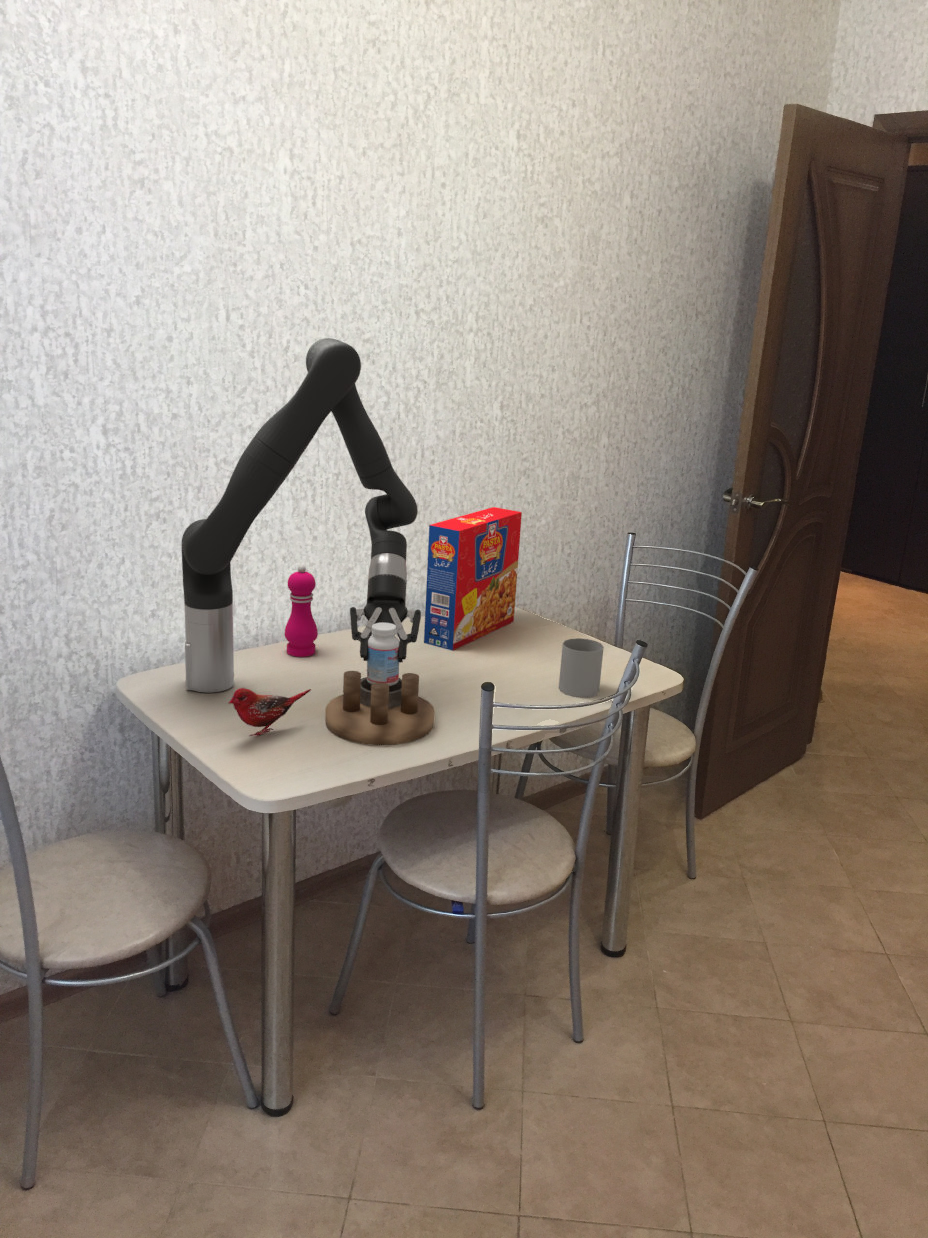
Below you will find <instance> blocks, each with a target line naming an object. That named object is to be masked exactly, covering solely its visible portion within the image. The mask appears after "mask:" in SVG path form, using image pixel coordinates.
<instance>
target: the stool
mask: <svg viewBox="0 0 928 1238" xmlns="http://www.w3.org/2000/svg"><path fill="white" fill-rule="evenodd" d="M342 683H343V690H342V692H343V693H342V694H339V695H338V696H336V697H334V698H332V699H331V700H330V701H329V702H328V703H327V704H326V706H325V716H324V717H325V720H324V721H325V727H326V728H327V730H328V731H329V732H330V733H332V734H333V735H334V736H336V737H338V738H341V739H343V740H345V741H349V742H352V743H356V744H361V745H362V744H363V745H370V746H396V745H403V744H408V743H413V742H415V741H419V740H420V739H422V738H425V737H426V736H428V735H430V733H431V732H432V731H433V729H434V727H435V713H436V712H435V708H434V706H433V705H432V703H430V702H429V701H428V700H426V699H425V698H423V697H422V696H420V695H419V691H420V690H419V689H420V688H419V687H420V675H419V674H417V673H413V672H407V673H403V674H402V676H401V678H400V677H399V680H398V682H397V683H396V684H395V685H392V686H389V685H388V684H386V683H374V684H370V683H369V682H368V681H367V676H366V677H362V673H361V672H359V671H357V670H347V671H344V673H343V682H342Z"/></svg>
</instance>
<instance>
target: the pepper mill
mask: <svg viewBox="0 0 928 1238" xmlns="http://www.w3.org/2000/svg"><path fill="white" fill-rule="evenodd" d="M306 570H307V568H306V566H305V565H304V564H300V565H298V566H297V571H295V572H293V573H291V574H290V575H289V576H288V578H287V588H288V590H289V591H290V593H289V596H290V597H289V600H290V601H291V611H290V614H289V618H288V620H287V622H286V625H285V628H284V638H285V639H286V641H287V642H288V643H287V644H286V654H288V655H289V656H292V657H296V658H297V657H299V658H305V657H310V656H313V655H315V653H316V643H314V642H315V641H316V640H317V639H318V635H319V633H318V632H319V631H318V627H317V626H318V625H317V624H316V622H315V620H314V616H313V612H312V601H313V600H314V597H313V596H314V594H313V592H314V590H315V589H316V585H317V584H316V579H315V577H314V576H313V574H312V573H310V572H308V571H306Z"/></svg>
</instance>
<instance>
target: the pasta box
mask: <svg viewBox="0 0 928 1238" xmlns="http://www.w3.org/2000/svg"><path fill="white" fill-rule="evenodd" d="M522 516H523V512H522V511H519V510H512V509H508V508H501V507H495V506H492V507H489V508H485V509H481V510H477V511H474V512H470V513H467V514H463V515H460V516H457V517H453V518H450V519H445V520H442V521H439V522H435V523H431V524H429V526H428V527H429V528H428V542H427V543H428V547H427V548H428V549H427V563H426V565H427V570H426V590H425V608H424V609H425V611H424V612H425V613H424V630H423V635H424V636H423V643H424V644H427V645H430V646H433V647H434V646H435V647H437V648H442V649H445V650H448V651H453V652H454V651H455V650H458V649H460V648H461V647H464V646H465V645H468V644H470V643H472V642H474V641H476V640H479V639H481V638H483V637H485V636H487V635H489V634H491V633H493V632H495V631H497V630H500V629H502V628H503V627H506V626H508V625H511V624H512V623H514V622H515V621H514V620H515V609H516V597H517V581H518V571H519V570H518V569H519V554H520V543H521V542H520V541H521V529H522Z"/></svg>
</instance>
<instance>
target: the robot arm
mask: <svg viewBox="0 0 928 1238" xmlns="http://www.w3.org/2000/svg"><path fill="white" fill-rule="evenodd" d="M361 361H362V360H361V357H360V355H359V352H357V349H355V348H354V347H353V346H352V345H350V344H348V343H346V342H343V341H341V340H339V339H335V338H329V337H327V338H326V337H325V338H321V339H318V340H316V341H315V342H313V344H311V345H310V347H309V348H308V350H307V353H306V356H305V367H306V370H307V374H306V375H305V377H304V379H303V381H302V382H301V384H300V385H299V387H298V389H297V391H296V392H295V393H294V395H293V396H292V397H291V398H290V399H289V400H288V401H287V403H285V404H284V406H282V407H281V408H280V409H278V411H276V412H275V413H274V414H273V415H271V417H270V418H269V419H268V420H267V421H266V422H265V423H264V424H263V425H262V426H261V427H260V428H259V429H258V430H257V432H256V433H255V434H254V436H253V437H252V439H251V441H250V442H249V443H248V444H247V446H246V447H245V449H244V451H243V452H242V454H241V456H240V457H239V459H238V461H237V463H236V465H235V466H234V470H233V472H232V474H231V476H230V479H229V481H228V483H227V486H226V489H225V491H224V492H223V495H222V497H221V498H220V500H219V502H218V503H217V504H216V506H215V507H214V509H213V510H212V511H211V513H210V514H209V515H208V516H207V517H206V518H202V519H198V520H195V521H193V522H192V523H190V524H189V525H188V526H187V527H186V529H185V531H184V532H183V533H182V534H183V535H182V537H181V567H182V568H181V569H182V586H183V587H182V588H183V603H184V632H185V633H184V634H185V642H184V660H185V663H184V664H185V665H184V667H185V690H186V691H194V692H198V693H207V694H208V693H219V692H223V691H227V690H229V689H231V688H233V687H234V684H235V661H234V660H235V658H234V657H235V655H234V649H235V648H234V605H233V604H234V599H233V598H234V595H233V594H234V592H233V584H232V583H233V582H232V573H231V572H232V571H231V569H232V568H231V562H232V560H233V558H234V556H235V555H236V552H237V550H238V549H239V547H240V545H241V543H242V541H243V540H244V538H245V536H246V534H247V532H248V531H249V529H250V527H251V525H252V524H253V522H254V521H255V520H256V518H257V517H258V516H259V515H260V513H261V512H262V510H263V509H264V508H265V507H266V506H267V504H268V503H269V502H270V501H271V499H272V497H273V496H274V495H275V494H276V492H277V491H278V490H279V488H280V487H281V485H283V483H284V482H285V481H286V479H287V477H288V476H289V475H290V473H291V472H292V470H293V469H294V467H296V464H297V463H298V462H299V460H300V458H301V457H302V455H303V453H304V452H305V451H306V449H307V448H308V446H309V444H310V443H311V442H312V441H313V439H314V437H315V435H316V433H317V432H318V431H319V429H320V427H321V426H322V424H323V422H324V421H326V418H327V417H328V416H329V414H330V413H332V415H333V418H334V420H335V422H336V425H337V426H338V428H339V431H340V434H341V436H342V439H343V441H344V444H345V446H346V449H347V451H348V455H349V456H350V459H351V462H352V464H353V467H354V469H355V471H356V474H357V477H358V478H359V481H360V483H361V485H362V486H363V488H365V489H367V490H376V491H377V490H378V491H382V492H383V493H385V494H381V495H377V496H374V497H371V498H369V500H368V501H367V503H366V504H365V508H364V514H365V520H366V523H367V526H368V531H369V535H370V542H371V550H370V563H369V567H368V578H367V591H366V592H367V593H366V604H365V606H364V607H363V608H356V607H355V606H352V607H350V608H349V616H350V617H349V619H350V628H351V630H350V631H351V639H352V640H353V641H358V642H360V643H359V644H360V645H359V656H360V659H361V658H362V660H363V661H365V662H367V653H368V640H369V638H370V637H371V636H373V634H372V625H373V624H376V623H391V624H394V625H395V626H396V635H395V636H396V637H397V638H398V639H399V642H400V644H399V663H403V662H404V661H405V660H406V658H407V654H408V653H407V651H408V644H410V643H416V642H417V640H418V636H419V635H418V634H419V630H420V624H421V617H422V612H421V610H420V609H415V610H409V609H408V608H407V606H406V602H407V601H406V600H407V582H408V579H407V578H408V572H407V571H408V570H407V548H408V547H407V546H408V544H407V543H408V542H407V538H406V536H405V535H404V534H402V533H401V532H399V531H396V530H390V529H395V528H396V529H397V528H400V527H405V526H409V525H411V524H413V523H415V521H416V519H417V517H418V504H417V501H416V500H415V497H414V495H413V494H412V493H411V491H410V490H409V489H408V487H407V486H406V485H405V484H404V482H403V481H402V479H401V478H400V477H399V475H398V473H397V472H396V471H395V469H394V467H393V465H392V463H391V459H390V457H389V454H388V452H387V449H386V447H385V444H384V442H383V440H382V438H381V436H380V434H379V432H378V430H377V429H376V427H375V425H374V424H373V422H372V420H371V418H370V415H369V414H368V412H367V410H366V408H365V407H364V404H363V402H362V399H361V397H360V395H359V392H358V389H357V386H356V383H357V381H358V379H359V377H360V374H361V370H362V362H361ZM363 616H364V618H366V619H367V621H368V622H367V623H366V624H365V628H364V629H363V630H362V632H361V631H359V628H358V622H359V621H361V619H362V617H363ZM406 618H408V619H409V622H410V623H412V625H411V629H410V633H406V631H405V629H404V625H403V624H402V623H404V621H405V619H406ZM403 660H404V661H403Z"/></svg>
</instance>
